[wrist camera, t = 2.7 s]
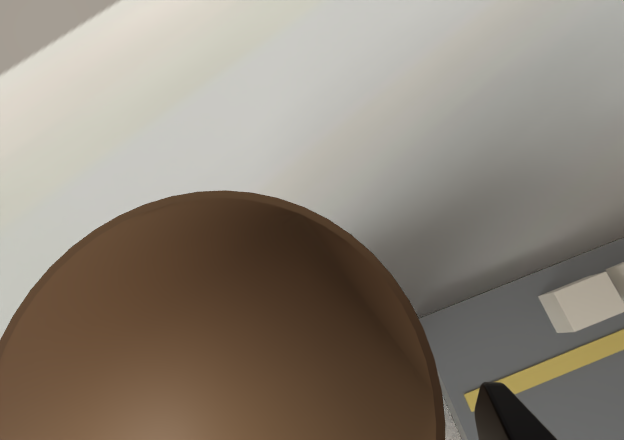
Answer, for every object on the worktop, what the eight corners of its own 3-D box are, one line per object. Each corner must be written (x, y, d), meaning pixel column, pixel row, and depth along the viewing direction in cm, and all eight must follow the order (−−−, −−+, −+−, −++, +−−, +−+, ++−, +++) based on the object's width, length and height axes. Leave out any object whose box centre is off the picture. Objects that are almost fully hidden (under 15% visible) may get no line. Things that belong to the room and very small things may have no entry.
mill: (398, 414, 17) (576, 603, 4) (245, 477, 16) (-7, 863, 4) (338, 264, 18) (350, 106, 6) (197, 318, 18) (-85, 266, 6)
